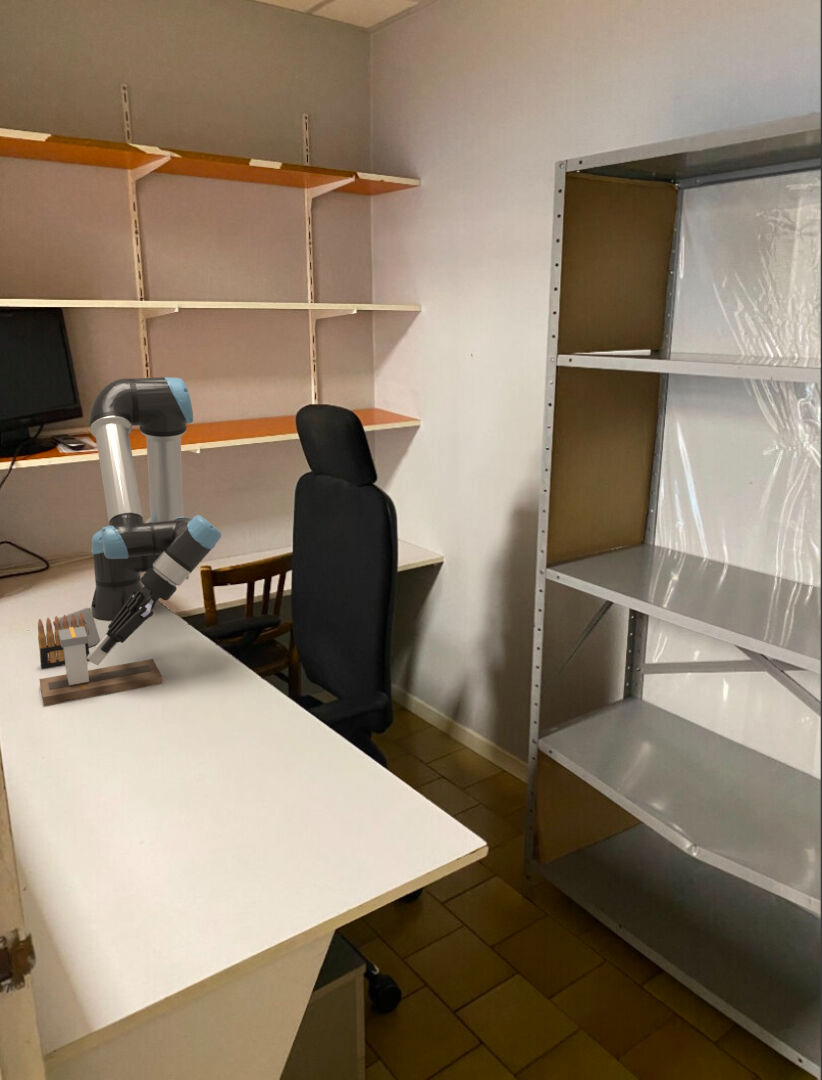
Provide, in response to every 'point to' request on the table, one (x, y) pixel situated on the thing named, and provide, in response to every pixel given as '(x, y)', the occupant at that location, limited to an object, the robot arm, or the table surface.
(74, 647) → the fader tab
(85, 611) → the electrical switch
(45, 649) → the ammunition clip
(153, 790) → the table surface
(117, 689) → the fader console
